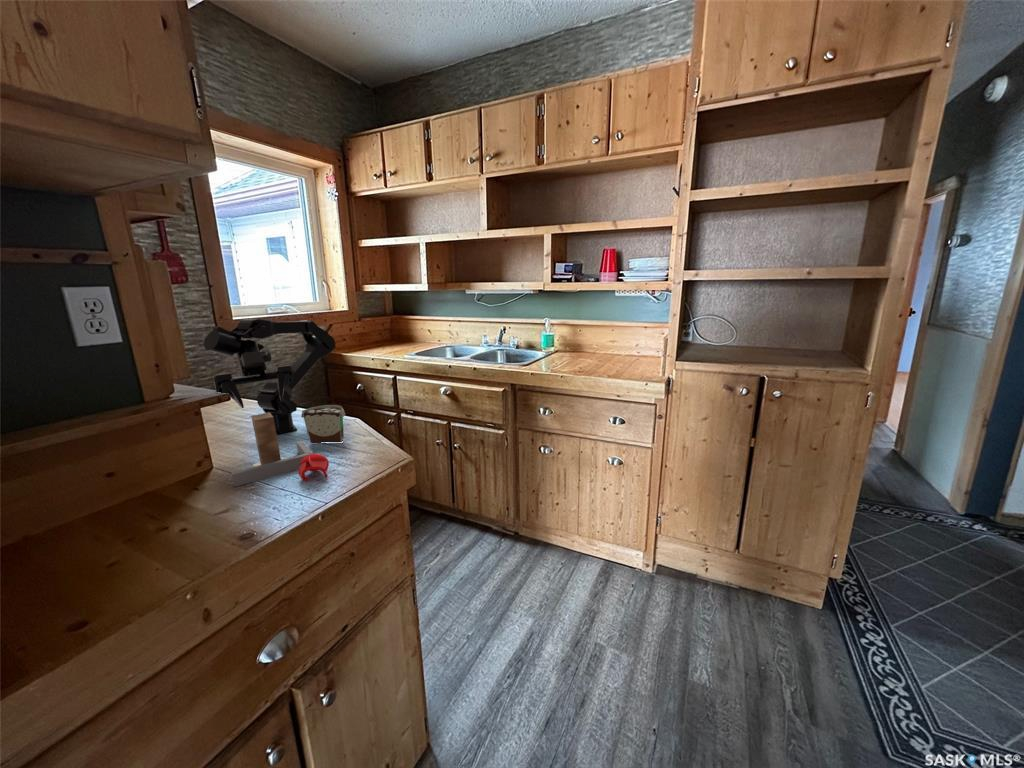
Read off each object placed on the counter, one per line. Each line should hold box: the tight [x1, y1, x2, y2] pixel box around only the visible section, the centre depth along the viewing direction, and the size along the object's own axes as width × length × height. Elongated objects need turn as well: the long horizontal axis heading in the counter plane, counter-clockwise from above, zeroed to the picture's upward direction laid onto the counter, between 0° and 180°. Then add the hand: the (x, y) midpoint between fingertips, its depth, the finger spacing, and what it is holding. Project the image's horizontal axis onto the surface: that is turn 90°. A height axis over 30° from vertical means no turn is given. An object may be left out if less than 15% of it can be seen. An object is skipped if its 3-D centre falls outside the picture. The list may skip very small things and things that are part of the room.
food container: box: [301, 404, 346, 444], centre depth 119 cm, size 12×6×10 cm, turn 84°
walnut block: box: [251, 412, 282, 465], centre depth 102 cm, size 4×5×13 cm
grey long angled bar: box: [230, 440, 314, 488], centre depth 103 cm, size 12×17×3 cm
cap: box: [297, 453, 330, 482], centre depth 96 cm, size 8×6×6 cm
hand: (262, 403), depth 111 cm, fingers open, 9 cm apart
